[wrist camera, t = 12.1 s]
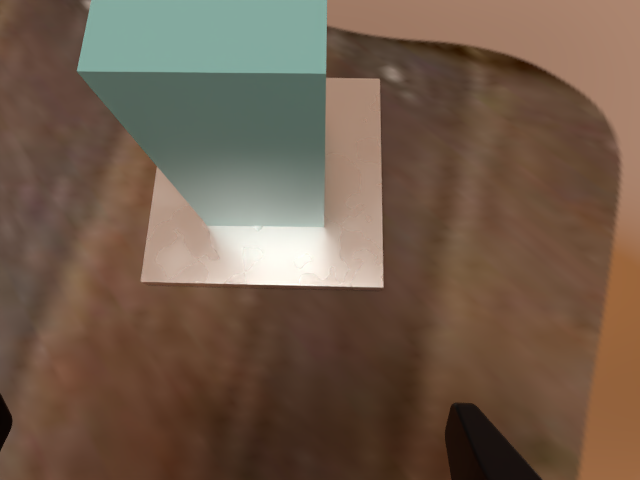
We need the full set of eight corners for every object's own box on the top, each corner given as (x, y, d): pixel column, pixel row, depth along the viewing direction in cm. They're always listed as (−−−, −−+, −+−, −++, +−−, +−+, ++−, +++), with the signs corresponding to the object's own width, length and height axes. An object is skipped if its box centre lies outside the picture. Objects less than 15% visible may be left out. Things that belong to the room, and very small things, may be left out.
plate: (380, 290, 22) (391, 277, 18) (148, 285, 22) (117, 271, 19) (377, 89, 25) (386, 47, 22) (176, 86, 25) (153, 43, 22)
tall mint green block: (324, 227, 22) (326, 73, 10) (207, 225, 22) (76, 71, 10) (325, 123, 23) (328, -110, 12) (216, 122, 23) (114, -111, 12)
